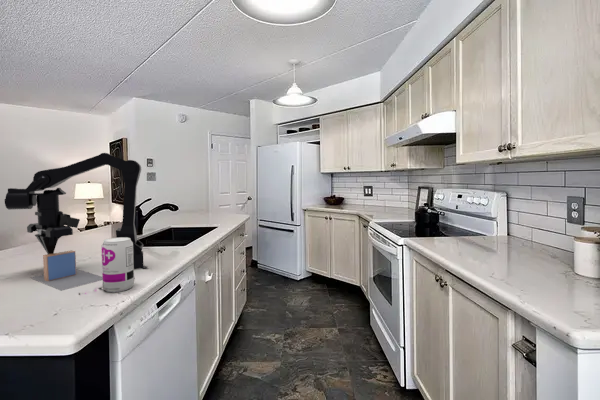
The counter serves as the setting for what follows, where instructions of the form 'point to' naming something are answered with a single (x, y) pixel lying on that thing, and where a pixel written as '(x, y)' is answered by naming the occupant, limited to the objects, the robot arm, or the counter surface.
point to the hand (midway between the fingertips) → (50, 254)
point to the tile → (59, 265)
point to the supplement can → (117, 264)
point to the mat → (70, 280)
